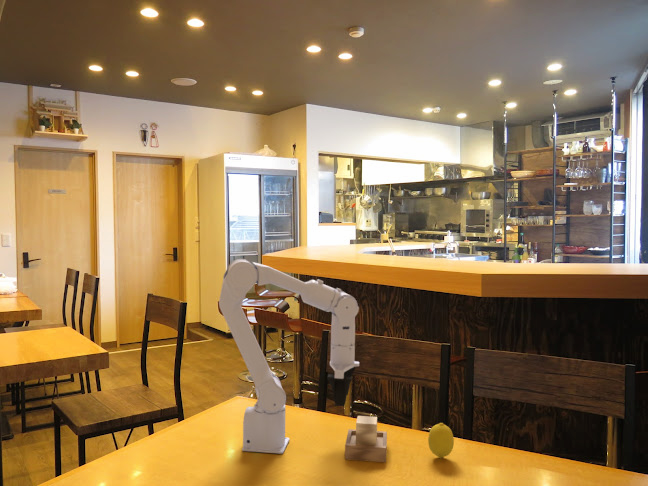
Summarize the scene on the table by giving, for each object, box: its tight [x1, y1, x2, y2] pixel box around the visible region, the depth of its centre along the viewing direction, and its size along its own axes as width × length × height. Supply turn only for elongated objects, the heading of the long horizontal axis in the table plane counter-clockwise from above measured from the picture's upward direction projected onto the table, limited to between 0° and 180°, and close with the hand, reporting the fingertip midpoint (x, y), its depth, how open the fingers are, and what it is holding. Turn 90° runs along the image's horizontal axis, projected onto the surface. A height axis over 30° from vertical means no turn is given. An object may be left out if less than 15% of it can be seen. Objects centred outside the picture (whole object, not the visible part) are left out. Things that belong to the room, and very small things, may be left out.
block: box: [355, 415, 378, 446], centre depth 119 cm, size 4×4×5 cm
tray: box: [344, 428, 388, 463], centre depth 119 cm, size 9×9×3 cm
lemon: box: [427, 422, 455, 459], centre depth 116 cm, size 6×6×8 cm
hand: (341, 399), depth 125 cm, fingers open, 7 cm apart
